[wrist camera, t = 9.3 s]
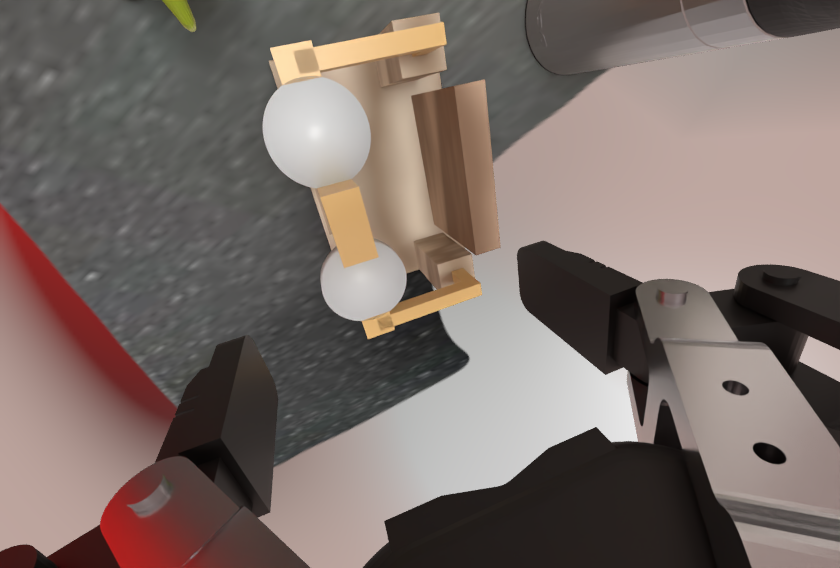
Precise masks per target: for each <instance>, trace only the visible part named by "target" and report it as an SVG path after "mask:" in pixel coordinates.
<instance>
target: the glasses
mask: <svg viewBox="0 0 840 568" xmlns="http://www.w3.org/2000/svg"><path fill="white" fill-rule="evenodd" d="M446 44H447V43H446V36H445V29H444V22H441V23H435V24H430V25H425V26H420V27H415V28H410V29H405V30H400V31H395V32H389V33H384V34H379V35H374V36H369V37H364V38H359V39H354V40H348V41H343V42H338V43H333V44H328V45H323V46H318V47H313V45H312V42H311V40H310V41H304V42H299V43H294V44H289V45H284V46H278V47H273V48H270V50H271V53H272V56H273V59H274V62H275V65H276V68H277V71H278V74H279V77H280V80H281V83H282V86H281V87H280V88H279V89H278V90H276V92H275V93H274V94H273V95H272V97H271V98H270V100H269V102H268V104H267V106H266V109H265V113H264V117H263V136H264V141H265V144H266V147H267V150H268V152H269V154H270V156H271V158H272V160H273V161H274V163H275V164H276V165H277V166H278V168H279V169H280V170H281V171H282V172H283V173H284V174H285V175H287V176H288V177H289V178H291V179H292V180H294V181H295V182H297V183H299V184H302V185H304V186H307V187H311V188H317V190H318V193H319V196H320V198H321V201H322V204H323V207H324V210H325V213H326V216H327V219H328V222H329V225H330V228H331V231H332V234H333V237H334V240H335V243H336V247H335V248H334V249H333V250H332V251H331V252H330V253H329V254H328V255H327V257H326V258H325V260H324V262H323V265H322V268H321V273H320V281H321V287H322V293H323V296H324V299H325V301H326V303H327V304H328V306H329V307H330V308H331V309H332V310H333V311H334V312H335V313H337V314H338V315H340V316H342V317H344V318H347V319H350V320H355V321H362V323H363V326H364V329H365V332H366V335H367V338H368V339H370V338H373V337H376V336H379V335H381V334H384V333H387V332H390V331H392V330H395V329H394V326H396V325H399V324H402V323H404V322H407V321H410V320H413V319H416V318H418V317H421V316H424V315H427V314H430V313H432V312H435V311H438V310H441V309H444V308H447V307H449V306H452V305H455V304H458V303H461V302H463V301H466V300H469V299H472V298H475V297H477V296H480V295H482V291H481V284H480V282H478V281H477V280H476V279H475V278H474V277H473V276H472V275H470V274H469V273H468V272H467V271H466V270H465V269H463V268H461V269H458V270H455V271H452V277H453V282H454V283H455V284H452V285H449V286H446V287H443V288H440V289H437V290H435V291H432V292H429V293H426V294H423V295H420V296H417V297H414V298H411V299H408V300H406V301H403V302H400V303H398V302H399V301H400V299H401V298H402V296H403V293H404V291H405V287H406V280H407V279H406V270H405V267H404V265H403V263H402V261H401V259H400V258H399V256H398V255H397V254H396V252H395V251H394V250H393V249H392V248H391V247H390V246H389V245H387V244H386V243H384V242H383V241H380V240H378V239H375V238H373V235H372V232H371V228H370V224H369V221H368V217H367V214H366V210H365V207H364V203H363V200H362V196H361V193H360V189H359V186H358V185H357V184H356V183H355V182H354V181H353V180H352V178H353V177H355V176H356V175H357V174H358V172H359V171H360V170H361V169H362V167H363V166H364V164H365V162H366V160H367V157H368V154H369V150H370V145H371V132H370V126H369V122H368V118H367V116H366V113H365V111H364V109H363V107H362V106H361V104H360V102H359V101H358V100H357V99H356V97H355V96H354V95H353V94H352V93H351V92H350V91H349V90H348V89H346V88H345V87H344V86H342V85H341V84H339V83H337V82H335V81H333V80H331V79H328V78H324V77H322V76H321V73H322V72H327V71H332V70H336V69H341V68H346V67H351V66H355V65H360V64H365V63H370V62H375V61H379V60H384V59H389V58H394V57H398V56H403V55H408V54H412V57H415V56H419V55H424V54H428V53H430V52H432V51H434V50H436V49H438V48H440V47H442V46H444V45H446Z"/></svg>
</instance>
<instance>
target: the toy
mask: <svg viewBox="0 0 840 568" xmlns="http://www.w3.org/2000/svg"><path fill="white" fill-rule="evenodd" d="M162 1H163V2H164V3H165V4H166V6H167V7H168V8H169V9H170V10H171V11H172V13H173V14H174V15H175V16H176V18H177V19H178V20H179V21H180V23H181V24H182V25H183V26H184V27H185V28H186V29H188V30H189V31H190V32H195V30H196V22H195V19H194V17H193V14H192V12H191V9H190V7H189V4H188V2H187V0H162Z"/></svg>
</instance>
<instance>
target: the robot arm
mask: <svg viewBox="0 0 840 568" xmlns="http://www.w3.org/2000/svg"><path fill="white" fill-rule="evenodd" d="M836 28H840V0H528V3H527V8H526V29H527V37H528V40H529V43H530V47H531V49H532V51H533V53H534V55H535V57H536V59H537V60H538V61H539V62H540V64H541V65H542V66H543V67H545V68H546V69H547V70H549V71H550V72H553V73H556V74H558V75H570V74H576V73H582V72H588V71H594V70H601V69H607V68H613V67H619V66H625V65H630V64H637V63H643V62H648V61H654V60H660V59H666V58H671V57H677V56H684V55H689V54H696V53H702V52H707V51H713V50H719V49H725V48H730V47H735V46H741V45H747V44H753V43H758V42H764V41H770V40H776V39H782V38H788V37H794V36H799V35H805V34H810V33H815V32H821V31H826V30H830V29H836ZM517 260H518V275H519V288H520V296H521V300H522V302H523V304H524V306H525V308H526V309H527V310H528V311H529V312H530V313H531V314H532V315H533V316H535V317H536V318H537V319H538V320H539V321H541V322H542V323H543V324H544V325H546V326H547V327H548V328H549V329H550V330H552V331H553V332H554V333H555V334H557V335H558V336H559V337H560V338H561V339H563V340H564V341H565V342H566V343H568V344H569V345H570V346H571V347H572V348H574V349H575V350H576V351H577V352H578V353H580V354H581V355H582V356H583V357H584V358H586V359H587V360H588V361H589V362H591V363H592V364H593V365H594V366H595V367H597V368H598V369H599V370H600V371H602V372H603V373H604V374H605V375H606V374H608V373H611V372H613V371H616V370H618V369H620V368H623V367H624V368H625V369H627V370H628V374H627V384H628V390H629V395H630V400H631V406H632V411H633V416H634V422H635V427H636V432H637V438H638V442H631V441H626V442H610V441H609V440H608V439H607V438H606V437H605V436H604V435H603V434H602V433H601V432H600V431H599V429H598V428H597V427H595V428H593V429H591V430H588V431H586V432H584V433H582V434H579V435H577V436H575V437H573V438H570V439H568V440H566V441H564V442H561V443H559V444H557V445H555V446H552V447H550V448H548V449H547V450H546V451H545V452H544V453H542V454H541V455H540V456H539V457H538V458H536V459H535V460H534V461H533V462H532V463H531V464H530V465H528V466H527V467H526V468H525V469H524V470H522V471H521V472H520V473H519V474H518V475H517V476H515V477H514V478H513V479H512V480H511V481H509V482H508V483H506V484H504V485H502V486H498V487H493V488H486V489H480V490H475V491H468V492H462V493H456V494H450V495H444V496H440V497H438V498H436V499H433V500H431V501H429V502H426V503H424V504H422V505H420V506H417V507H415V508H413V509H411V510H408V511H406V512H404V513H402V514H399V515H397V516H395V517H393V518H390V519H388V520H386V521H385V526H386V531H387V535H388V540H389V542H388V543H387V544H386V545H385V546H384V547H382V548H381V549H380V550H379V551H378V552H377V553H376V554H375V555H374V556H373V557H372V558H371V559H370V560H369V561H368V562H367V563H366V564H365V566H364V567H363V568H840V382H838V381H836V380H834V379H832V378H831V377H829V376H827V375H825V374H823V373H821V372H819V371H817V370H815V369H813V368H811V367H809V366H807V365H805V364H803V363H801V362H799V359H800V356H801V354H802V351H803V349H804V346H805V343H806V341H807V338H808V336H810V337H813V338H815V339H817V340H819V341H821V342H824V343H826V344H828V345H830V346H832V347H835V348H837V349H839V350H840V281H838V280H834V279H832V278H828V277H825V276H822V275H819V274H816V273H812V272H810V271H806V270H803V269H799V268H795V267H790V266H782V265H756V266H750V267H746V268H744V269H742V270H741V271H740V272H739V273H738V277H737V281H736V285H735V289H730V290H722V291H715V292H707V291H706V290H705V289H704V288H702V287H700V286H698V285H696V284H693V283H690V282H686V281H682V280H674V279H657V280H651V281H647V282H644V283H642V282H640V281H638V280H636V279H634V278H631V277H629V276H627V275H625V274H623V273H621V272H619V271H616V270H614V269H612V268H610V267H606V266H605V265H604V264H601V263H599V262H595V261H594V260H593V259H591V258H589V257H586V256H584V255H582V254H579V253H574V252H569V251H565V250H562V249H560V248H558V247H556V246H554V245H552V244H550V243H548V242H546V241H540V242H537V243H534V244H531V245H528V246H525V247H522V248H520V249H519V250H518V253H517ZM277 407H278V395H277V390H276V386H275V383H274V380H273V378H272V376H271V374H270V372H269V370H268V368H267V366H266V364H265V362H264V360H263V358H262V357H261V355H260V353H259V351H258V349H257V347H256V345H255V343H254V341H253V339H252V338H251V337H250V336H248V335H246V336H243V337H240V338H237V339H233V340H230V341H227V342H224V343H221V344H218V345H217V346H216V349H215V352H214V354H213V357H212V360H211V363H210V365H209V367H207V368H204V369H201V370H200V371H199V373H198V374H197V375H196V376H195V377H194V378H193V379H192V381H191V382H190V383H189V384H188V385H187V387H186V389H185V392H184V394H183V397H182V399H181V404H179V406H178V409H177V411H176V414H175V415H176V417H175V418H173V421H172V423H171V425H170V428H169V430H168V433H167V435H166V437H165V440H164V442H163V445H162V447H161V449H160V452H159V454H158V457H157V459H156V461H155V463H154V464H152V465H150V466H148V467H147V468H145V469H143V470H142V471H140V472H139V473H138V474H136V475H135V476H134V477H132V478H131V479H130V480H129V481H128V482H126V483H125V484H124V485H123V486H122V487H121V488H120V489H119V490H118V492H117V493H116V494H115V495H114V496H113V498H112V499H111V500H110V502H109V503H108V505H107V506H106V508H105V510H104V512H103V515H102V517H101V521H100V525H98V526H97V527H95V528H94V529H92V530H91V531H89V532H87V533H85V534H84V535H82V536H80V537H79V538H77V539H76V540H74V541H72V542H71V543H69V544H67V545H66V546H64V547H63V548H61V549H59V550H58V551H56V552H54V553H53V554H51V555H50V556H48V557H46V556H44V555H43V554H42V553H40V552H39V551H38V550H37V549H35V548H34V547H33V546H30V545H17V546H13V547H10V548H8V549H5V550H3V551H1V552H0V568H310V567H309V566H308V565H307V564H306V563H305V562H304V561H303V560H302V559H300V558H299V557H298V556H297V555H296V554H295V553H294V552H293V551H292V550H291V549H290V548H289V547H288V546H286V544H285V543H284V542H282V541H281V540H280V539H279V538H278V537H277V536H276V535H275V534H274V533H273V532H272V531H271V530H270V529H269V528H268V527H267V526H266V525H265V524H263V523H262V522H261V521H260V520H259V519H258V517H260V516H262V515H265V514H267V513H270V507H271V493H272V479H273V464H274V450H275V435H276V421H277Z"/></svg>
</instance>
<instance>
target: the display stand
mask: <svg viewBox="0 0 840 568" xmlns="http://www.w3.org/2000/svg"><path fill="white" fill-rule="evenodd" d="M435 23H440V15H439V13H434V14H429V15H423V16H417V17H411V18H405V19H400V20H394V21H391V22H390V23H389V24H388V25H387V26H386V27H385V28H384V29H383V30H382V31H381V32H380V34H384V33H389V32H395V31H400V30H405V29H410V28H415V27H420V26H425V25H430V24H435ZM269 64H270V67H271V70H272V73H273V76H274V79H275V82H276V85H277V88H278V89H279V88H280V87H281V86H282V83H281V80H280V77H279V74H278V71H277V68H276V65H275V62H274V60H271V61H269ZM445 70H447V67H446V60H445V52H444V46H442V47H440V48H438V49H436V50H434V51H432V52H430V53H428V54H424V55H419V56H415V57H412V54H408V55H403V56H398V57H394V58H389V59H384V60H379V61H375V62H370V63H365V64H360V65H355V66H351V67H346V68H341V69H336V70H332V71H327V72H322V73H321V76H322V77H324V78H328V79H331V80H333V81H335V82H337V83H339V84H341V85H342V86H344V87H345V88H346V89H348V90H349V91H350V92H351V93H352V94H353V95H354V96H355V97H356V99H357V100H358V101H359V102H360V104H361V106H362V107H363V109H364V111H365V113H366V116H367V118H368V122H369V126H370V132H371V145H370V150H369V154H368V157H367V160H366V162H365V164H364V166H363V167H362V169H361V170H360V171H359V172H358V174H357V175H356V176H355V177H353V178H352V180H353V181H354V182H355V183H356V184H357V185H358V186H359V189H360V193H361V196H362V200H363V203H364V207H365V210H366V214H367V217H368V221H369V224H370V228H371V232H372V235H373V238H375V239H378V240H380V241H383V242H384V243H386V244H387V245H389V246H390V247H391V248H392V249H393V250H394V251H395V252H396V254H397V255H398V256H399V258H400V259H401V261H402V263H403V265H404V267H405V270H406V273H409V272H412V271H415V270H419V269H420V270H421V272H422V273H423V274H424V275H425V276H426V277H427V279H428V280H429V281H430V282H431V283H432V284H433V286H434V287H435V288H436V289H440V288H443V287H446V286H449V285H452V284H455V283H454V282H453V277H452V271H455V270H458V269H461V268H463V269H465V270H466V271H467V272H468V273H469V274H470V275H472V276H473V277H474V278H475V275H474V267H473V260H472V254H471V253H470V252H468V251H467V250H466V249H465V248H467V249H468V250H470V251H471V252H472V253H474V254H475V255H479V254H482V253H485V252H488V251H491V250H494V249H497V248H500V237H499V226H498V215H497V205H496V194H495V183H494V173H493V162H492V151H491V140H490V129H489V119H488V108H487V97H486V87H485V80H480V81H475V82H471V83H466V84H462V85H457V86H452V87H448V88H443V89H442V87H441V80H440V73H439V72H442V71H445ZM311 190H312V193H313V196H314V199H315V202H316V205H317V208H318V211H319V214H320V217H321V220H322V223H323V226H324V229H325V232H326V235H327V238H328V241H329V244H330V248H331V251H332V250H333V249H334V248H335V247H336V243H335V240H334V237H333V234H332V231H331V228H330V225H329V222H328V219H327V216H326V213H325V210H324V207H323V204H322V201H321V198H320V196H319V193H318V190H317V188H311Z"/></svg>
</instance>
